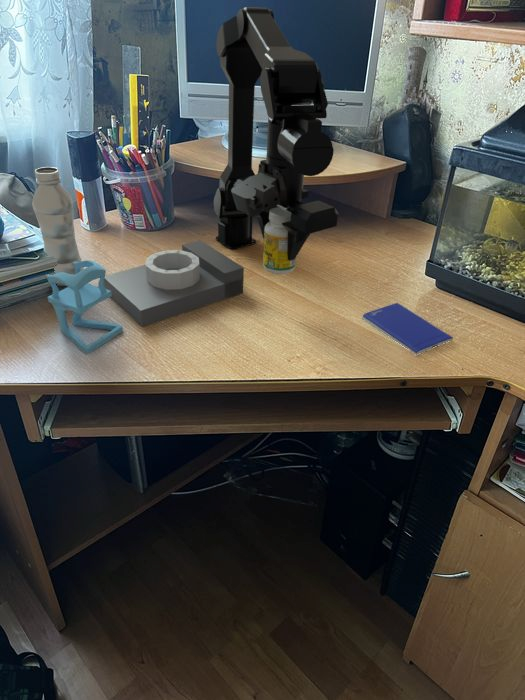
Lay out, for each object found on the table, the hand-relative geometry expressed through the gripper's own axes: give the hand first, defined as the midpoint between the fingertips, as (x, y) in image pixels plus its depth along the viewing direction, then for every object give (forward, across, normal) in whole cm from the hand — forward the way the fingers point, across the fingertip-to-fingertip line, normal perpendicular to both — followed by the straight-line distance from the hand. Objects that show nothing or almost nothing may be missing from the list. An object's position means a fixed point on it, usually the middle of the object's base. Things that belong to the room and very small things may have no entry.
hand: (279, 253), depth 89 cm
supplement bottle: (+3, 0, 0) cm, 3 cm away
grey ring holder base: (+10, -14, -12) cm, 21 cm away
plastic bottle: (+10, -28, -26) cm, 40 cm away
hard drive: (+11, +18, +13) cm, 25 cm away
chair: (+10, -10, -30) cm, 33 cm away
